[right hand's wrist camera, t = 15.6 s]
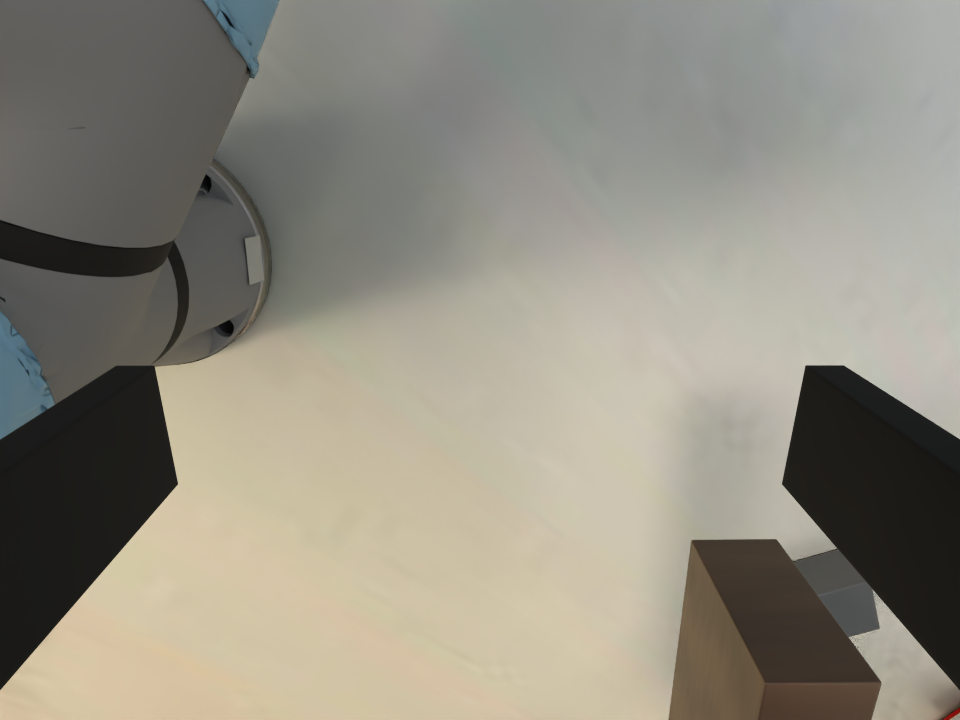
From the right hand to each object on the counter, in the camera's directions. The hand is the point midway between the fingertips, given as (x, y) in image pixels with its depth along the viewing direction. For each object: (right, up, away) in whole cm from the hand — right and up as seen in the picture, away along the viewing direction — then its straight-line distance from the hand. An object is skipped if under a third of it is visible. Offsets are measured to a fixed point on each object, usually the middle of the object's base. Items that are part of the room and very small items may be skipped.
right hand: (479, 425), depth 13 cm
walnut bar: (+12, -18, +20) cm, 30 cm away
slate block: (+28, -17, +39) cm, 51 cm away
